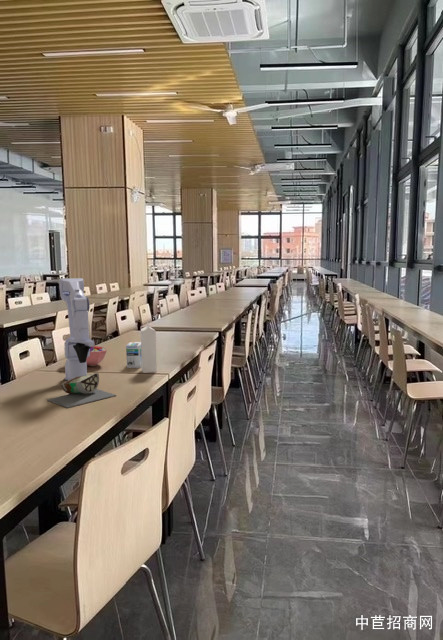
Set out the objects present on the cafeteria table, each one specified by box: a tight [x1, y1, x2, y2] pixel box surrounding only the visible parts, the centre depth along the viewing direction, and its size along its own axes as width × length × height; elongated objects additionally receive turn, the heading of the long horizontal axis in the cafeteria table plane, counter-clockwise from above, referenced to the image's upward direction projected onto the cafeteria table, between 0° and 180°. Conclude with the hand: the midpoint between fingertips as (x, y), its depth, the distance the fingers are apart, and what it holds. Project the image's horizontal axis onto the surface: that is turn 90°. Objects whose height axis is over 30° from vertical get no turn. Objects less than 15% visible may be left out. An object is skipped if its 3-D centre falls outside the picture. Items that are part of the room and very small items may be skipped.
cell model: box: [86, 345, 108, 367], centre depth 234 cm, size 17×20×11 cm
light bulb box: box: [125, 341, 142, 369], centre depth 234 cm, size 11×7×11 cm, turn 179°
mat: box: [46, 388, 117, 409], centre depth 180 cm, size 14×20×1 cm
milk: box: [140, 322, 158, 374], centre depth 221 cm, size 6×6×22 cm
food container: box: [60, 372, 100, 395], centre depth 185 cm, size 12×6×10 cm
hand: (82, 362), depth 192 cm, fingers closed
